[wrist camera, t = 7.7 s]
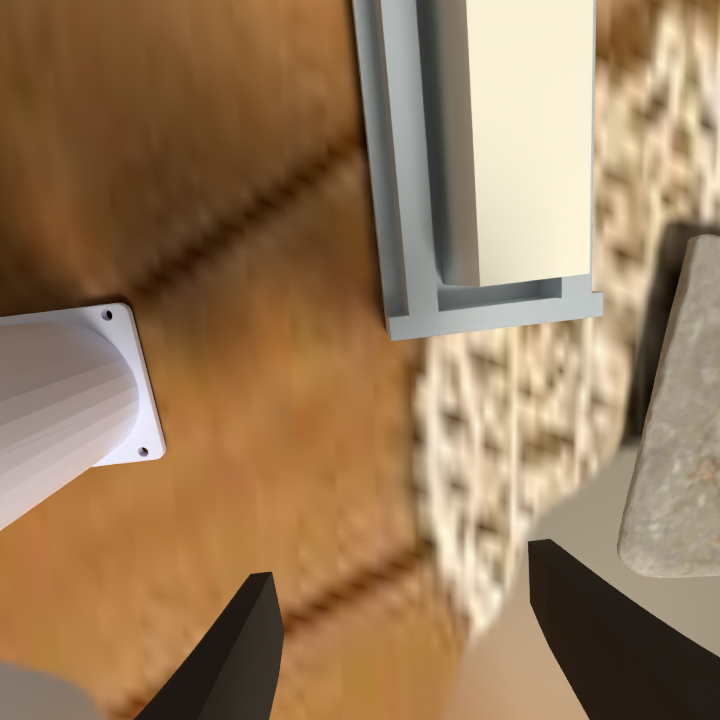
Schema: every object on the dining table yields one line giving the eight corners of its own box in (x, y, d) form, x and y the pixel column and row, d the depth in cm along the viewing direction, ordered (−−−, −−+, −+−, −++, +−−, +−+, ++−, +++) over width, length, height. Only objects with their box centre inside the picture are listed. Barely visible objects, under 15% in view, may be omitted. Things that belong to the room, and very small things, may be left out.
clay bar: (521, 275, 17) (589, 273, 12) (444, 284, 17) (480, 286, 12) (513, -45, 14) (596, -216, 9) (422, -32, 14) (456, -196, 9)
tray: (386, 332, 18) (392, 343, 15) (345, -61, 15) (342, -145, 12) (569, 310, 18) (610, 317, 15) (570, -92, 15) (623, -185, 12)
